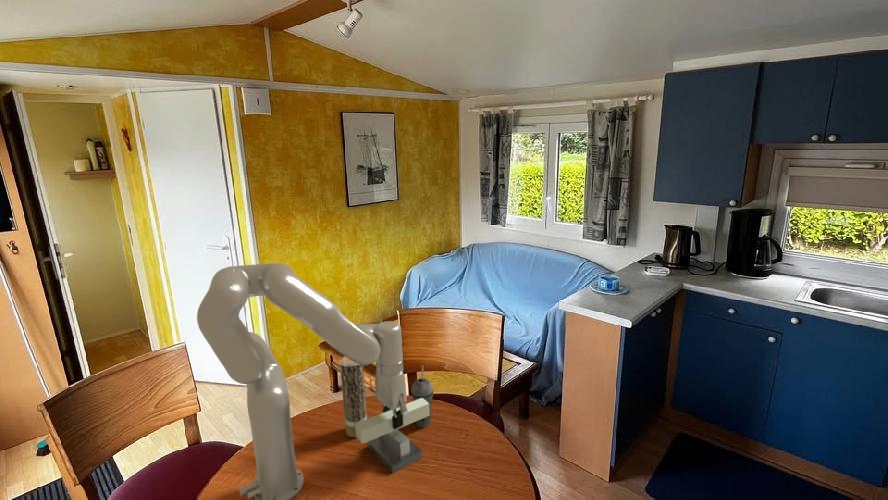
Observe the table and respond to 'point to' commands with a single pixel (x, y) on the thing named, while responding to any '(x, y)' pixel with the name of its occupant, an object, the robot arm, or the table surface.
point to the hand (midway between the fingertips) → (393, 422)
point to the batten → (390, 421)
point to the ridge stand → (395, 450)
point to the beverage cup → (425, 391)
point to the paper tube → (353, 394)
